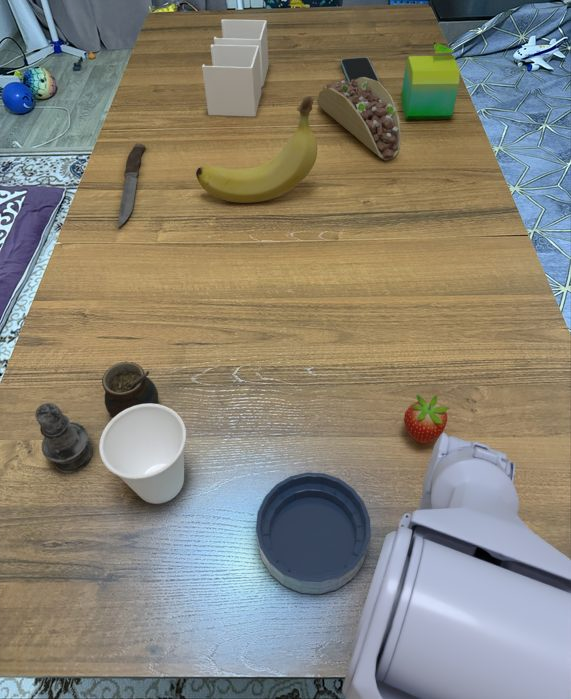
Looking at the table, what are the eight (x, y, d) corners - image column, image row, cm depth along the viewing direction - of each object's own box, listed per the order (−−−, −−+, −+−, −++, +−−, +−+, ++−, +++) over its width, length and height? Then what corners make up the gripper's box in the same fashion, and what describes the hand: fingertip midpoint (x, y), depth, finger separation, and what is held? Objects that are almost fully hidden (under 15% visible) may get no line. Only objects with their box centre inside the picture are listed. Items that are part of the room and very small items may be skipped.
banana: (199, 209, 111) (183, 110, 95) (200, 191, 114) (185, 93, 99) (317, 204, 111) (320, 104, 95) (314, 186, 115) (317, 87, 99)
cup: (194, 519, 71) (180, 478, 63) (114, 519, 71) (89, 478, 63) (202, 448, 77) (190, 402, 69) (129, 448, 78) (108, 402, 69)
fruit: (413, 459, 76) (423, 427, 70) (393, 428, 79) (401, 395, 73) (448, 444, 77) (461, 411, 71) (427, 415, 80) (438, 380, 74)
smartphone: (352, 88, 138) (339, 59, 147) (351, 93, 139) (339, 63, 148) (381, 86, 138) (367, 56, 147) (381, 90, 139) (367, 61, 148)
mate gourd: (116, 389, 84) (98, 345, 76) (168, 390, 84) (154, 346, 76) (105, 432, 79) (84, 390, 72) (159, 433, 79) (144, 391, 71)
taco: (372, 168, 118) (377, 121, 110) (305, 110, 133) (306, 66, 126) (410, 154, 121) (418, 108, 113) (341, 99, 136) (343, 55, 128)
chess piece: (75, 428, 80) (45, 376, 71) (104, 450, 78) (78, 399, 68) (41, 459, 77) (6, 409, 68) (70, 483, 75) (38, 435, 65)
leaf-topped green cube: (450, 123, 129) (465, 54, 117) (406, 123, 129) (417, 54, 117) (442, 99, 136) (456, 31, 124) (400, 99, 136) (410, 32, 124)
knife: (133, 229, 107) (131, 223, 106) (114, 230, 107) (112, 224, 106) (146, 147, 125) (145, 141, 124) (130, 147, 125) (129, 142, 124)
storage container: (255, 116, 132) (252, 68, 124) (208, 114, 133) (202, 66, 125) (268, 66, 148) (266, 20, 139) (226, 65, 149) (221, 19, 140)
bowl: (382, 579, 66) (386, 565, 63) (272, 608, 64) (270, 596, 61) (347, 478, 74) (349, 462, 71) (248, 502, 72) (246, 486, 69)
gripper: (435, 445, 60) (415, 500, 71) (375, 565, 52) (362, 608, 63) (501, 476, 58) (470, 529, 68) (448, 607, 50) (423, 644, 61)
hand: (422, 569), depth 66 cm, fingers closed on sponge, 4 cm apart
